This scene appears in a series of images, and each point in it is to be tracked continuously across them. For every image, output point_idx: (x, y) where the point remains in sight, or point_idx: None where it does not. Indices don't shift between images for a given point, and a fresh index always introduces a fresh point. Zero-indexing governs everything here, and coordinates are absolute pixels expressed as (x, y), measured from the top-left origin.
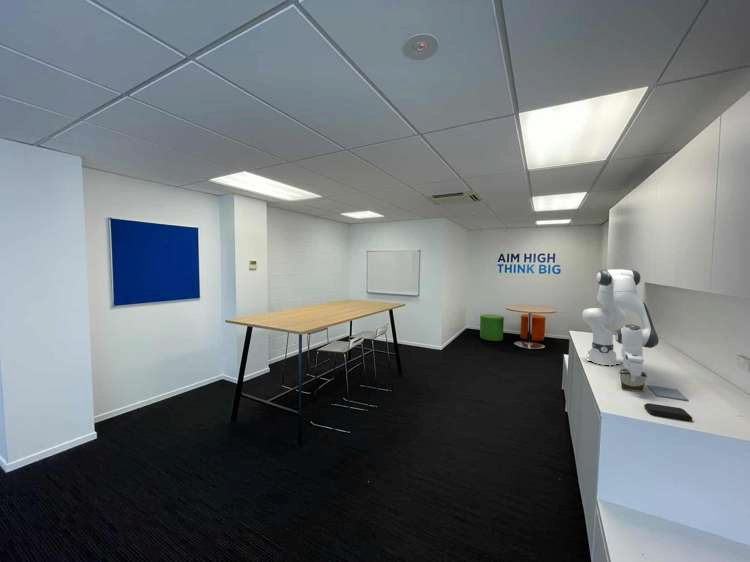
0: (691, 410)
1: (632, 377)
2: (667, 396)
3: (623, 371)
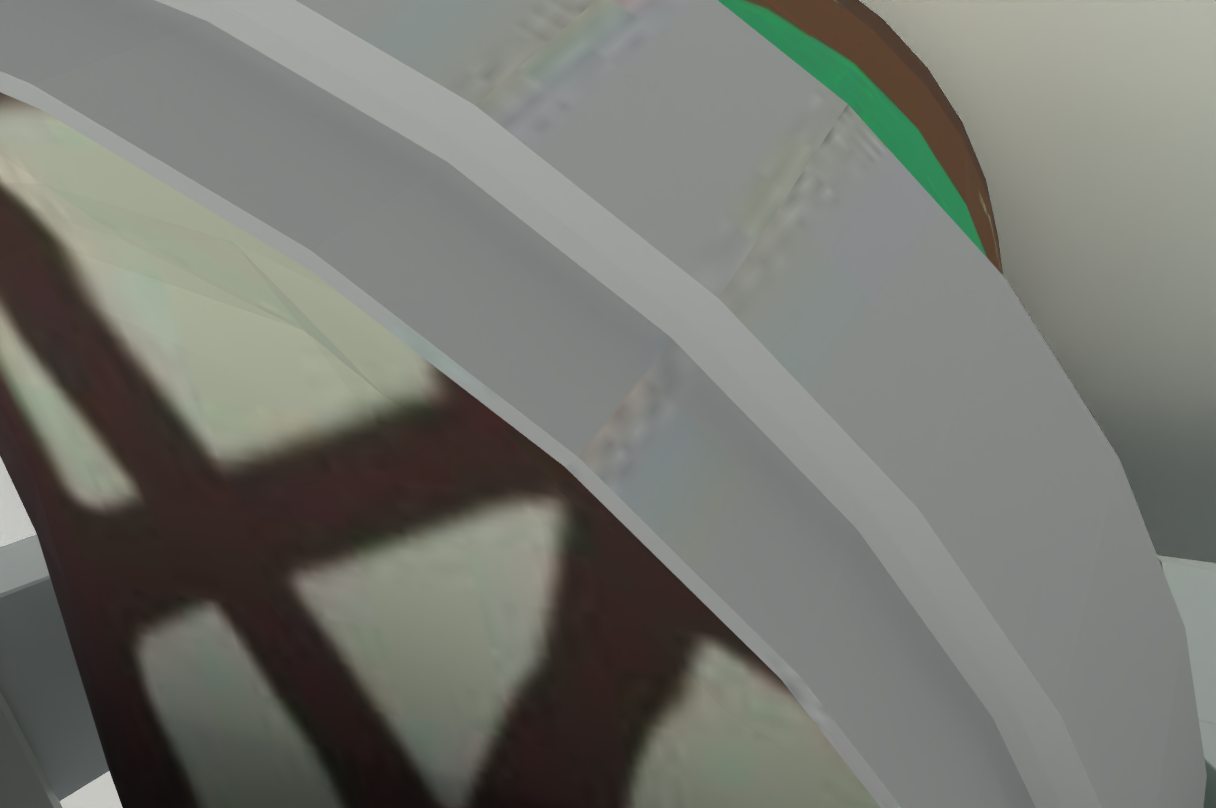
0: (106, 804)
1: None
2: None
3: (452, 449)
